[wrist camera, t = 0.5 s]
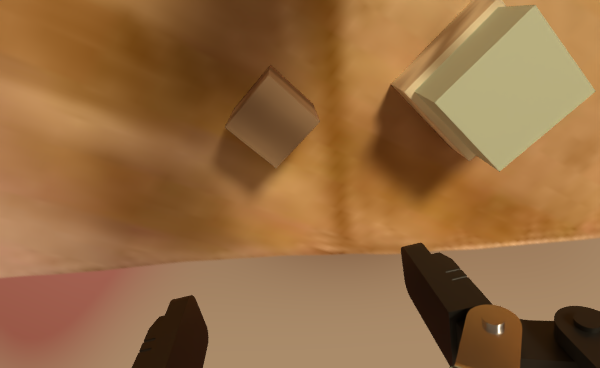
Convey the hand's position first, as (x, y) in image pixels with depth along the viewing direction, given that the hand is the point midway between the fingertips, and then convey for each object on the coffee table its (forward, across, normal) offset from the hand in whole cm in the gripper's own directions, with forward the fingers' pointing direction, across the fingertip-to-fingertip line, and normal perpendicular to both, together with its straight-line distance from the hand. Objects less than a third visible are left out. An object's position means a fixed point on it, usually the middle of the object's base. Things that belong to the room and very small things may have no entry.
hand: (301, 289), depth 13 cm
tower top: (+16, -17, -2) cm, 24 cm away
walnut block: (+21, 0, -4) cm, 21 cm away
